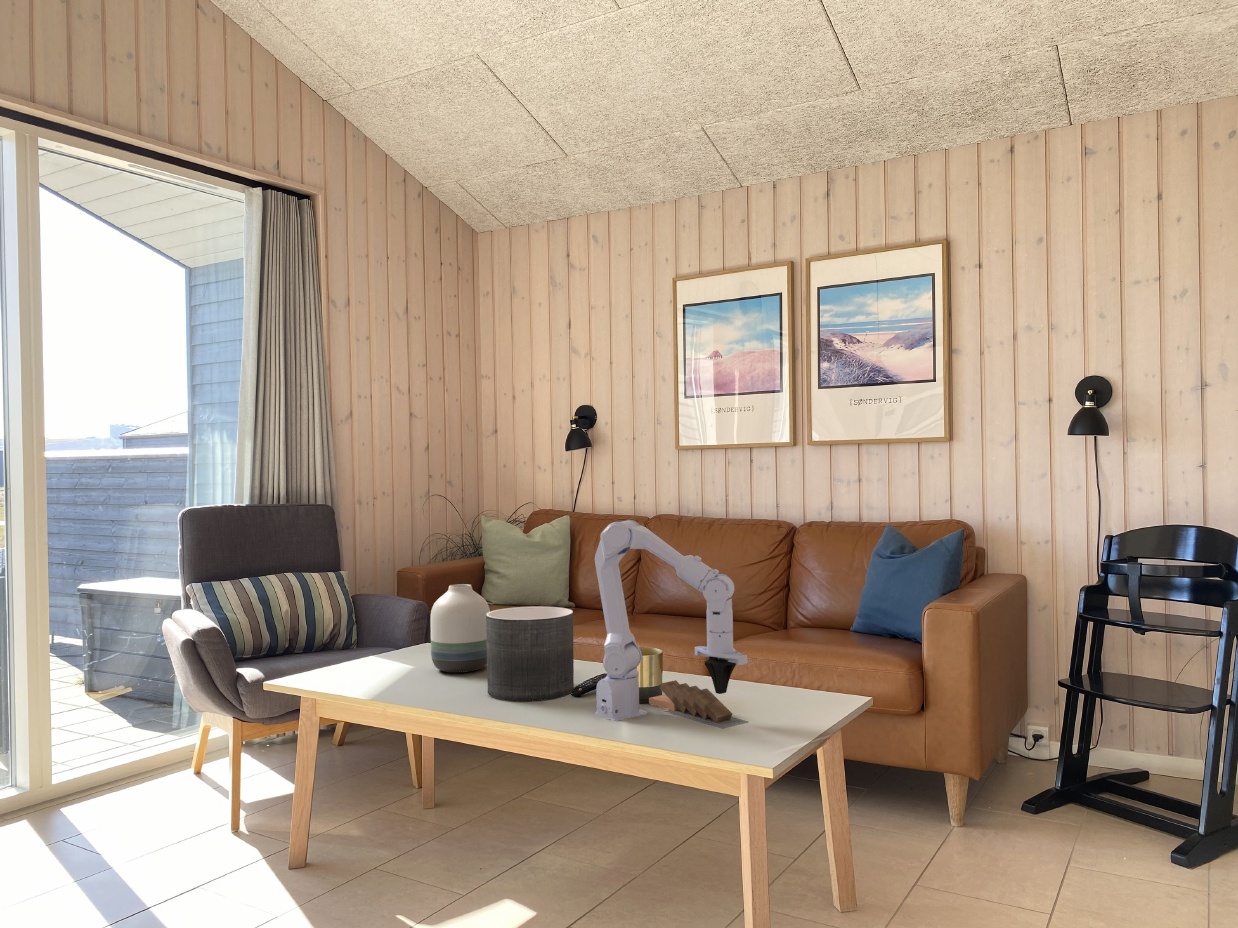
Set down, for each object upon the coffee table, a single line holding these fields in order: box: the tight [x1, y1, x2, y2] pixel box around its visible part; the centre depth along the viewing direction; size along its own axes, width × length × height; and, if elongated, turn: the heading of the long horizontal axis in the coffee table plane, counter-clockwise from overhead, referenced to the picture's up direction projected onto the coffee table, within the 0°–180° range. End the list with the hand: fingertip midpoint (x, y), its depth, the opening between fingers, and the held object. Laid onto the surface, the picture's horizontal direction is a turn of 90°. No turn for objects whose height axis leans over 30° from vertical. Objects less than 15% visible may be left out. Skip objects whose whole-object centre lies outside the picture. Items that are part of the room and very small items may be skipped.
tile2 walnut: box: [680, 685, 710, 720], centre depth 199 cm, size 4×2×9 cm
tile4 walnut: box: [659, 680, 689, 713], centre depth 205 cm, size 4×2×9 cm
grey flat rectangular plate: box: [664, 709, 750, 730], centre depth 198 cm, size 8×19×1 cm, turn 38°
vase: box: [430, 583, 491, 673], centre depth 253 cm, size 17×17×24 cm
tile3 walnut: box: [670, 682, 700, 717], centre depth 202 cm, size 4×2×9 cm
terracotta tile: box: [648, 694, 679, 711], centre depth 208 cm, size 4×2×9 cm
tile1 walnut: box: [691, 688, 733, 723], centre depth 196 cm, size 4×2×9 cm
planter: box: [486, 606, 575, 703], centre depth 226 cm, size 22×22×20 cm
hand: (721, 692), depth 194 cm, fingers closed
